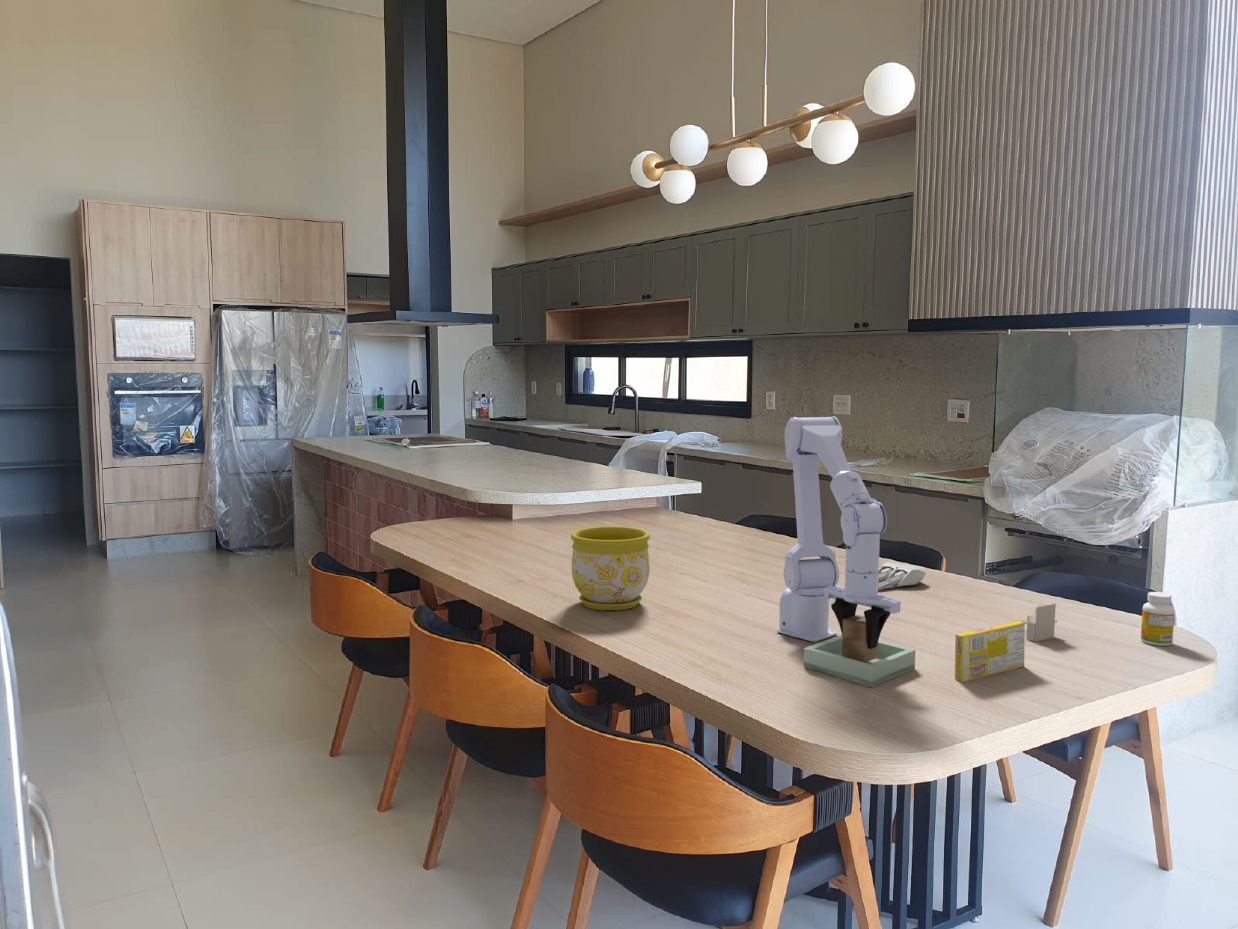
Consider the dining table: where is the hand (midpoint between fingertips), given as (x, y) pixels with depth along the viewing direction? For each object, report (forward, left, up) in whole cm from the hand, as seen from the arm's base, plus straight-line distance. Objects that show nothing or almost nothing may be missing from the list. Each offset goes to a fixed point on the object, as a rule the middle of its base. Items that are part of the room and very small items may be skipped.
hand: (859, 644), depth 162 cm
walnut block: (0, 0, -2) cm, 3 cm away
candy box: (+17, +15, -5) cm, 23 cm away
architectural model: (+14, +42, -5) cm, 45 cm away
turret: (-29, +59, -5) cm, 66 cm away
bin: (0, 0, -4) cm, 4 cm away
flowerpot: (-63, -4, -5) cm, 63 cm away
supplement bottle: (+31, +56, -5) cm, 64 cm away
